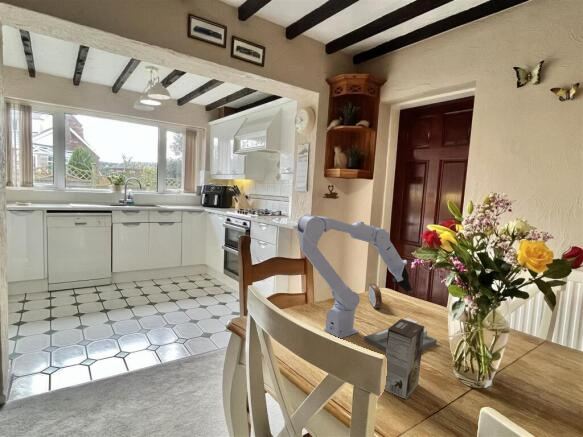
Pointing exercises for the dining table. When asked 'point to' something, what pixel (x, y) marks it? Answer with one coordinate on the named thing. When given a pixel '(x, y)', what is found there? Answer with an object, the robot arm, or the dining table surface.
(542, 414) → the dining table surface
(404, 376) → the coffee box
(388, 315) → the dining table surface
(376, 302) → the clock
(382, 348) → the switch plate
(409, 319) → the switch tab
